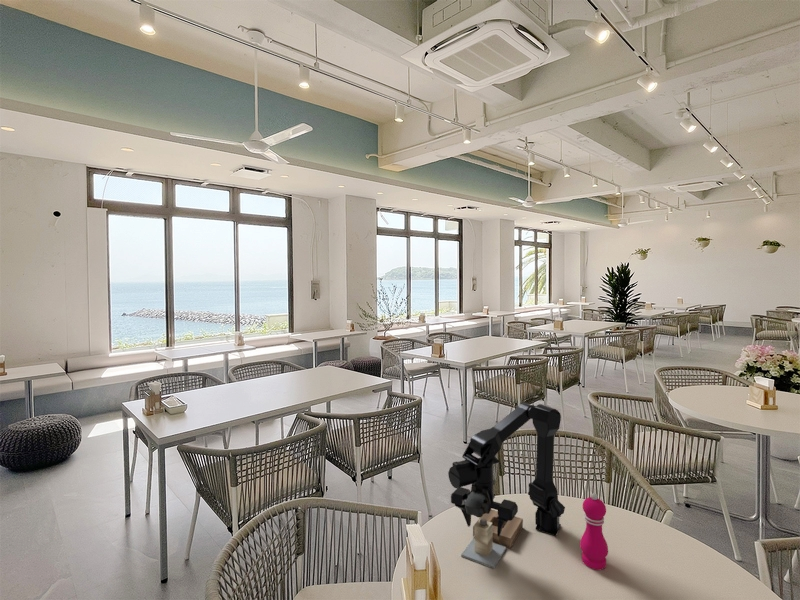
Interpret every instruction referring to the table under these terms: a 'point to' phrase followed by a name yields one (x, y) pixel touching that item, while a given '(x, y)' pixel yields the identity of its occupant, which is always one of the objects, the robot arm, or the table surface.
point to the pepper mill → (594, 534)
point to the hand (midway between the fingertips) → (483, 530)
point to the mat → (482, 559)
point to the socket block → (508, 531)
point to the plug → (483, 537)
